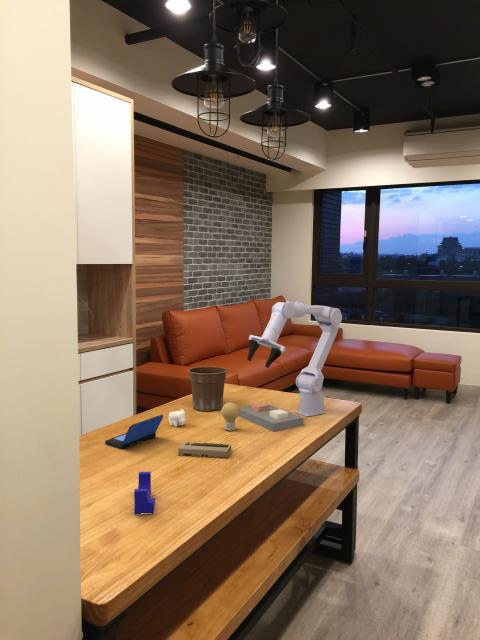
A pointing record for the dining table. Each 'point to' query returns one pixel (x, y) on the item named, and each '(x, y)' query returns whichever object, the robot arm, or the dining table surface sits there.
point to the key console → (270, 418)
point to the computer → (204, 450)
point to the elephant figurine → (177, 418)
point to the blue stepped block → (144, 494)
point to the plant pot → (207, 387)
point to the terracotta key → (260, 406)
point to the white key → (278, 414)
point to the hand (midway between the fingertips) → (257, 363)
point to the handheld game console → (136, 433)
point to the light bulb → (230, 415)
